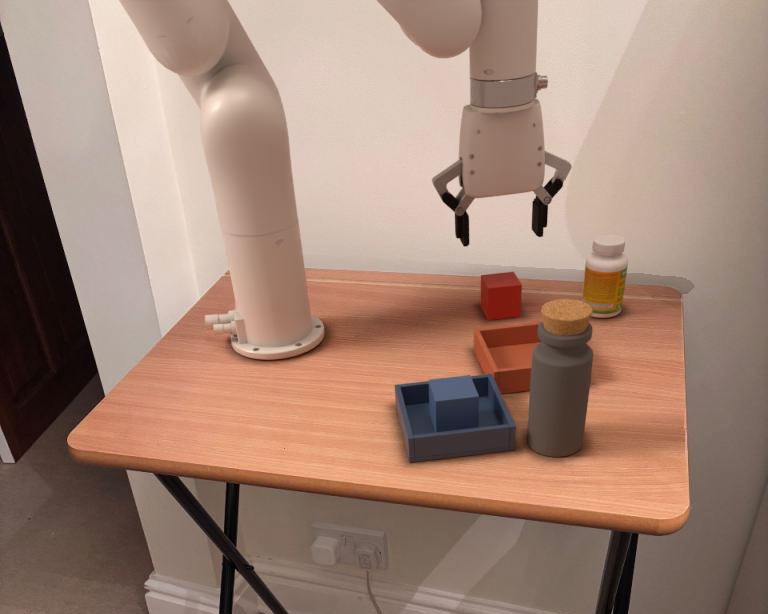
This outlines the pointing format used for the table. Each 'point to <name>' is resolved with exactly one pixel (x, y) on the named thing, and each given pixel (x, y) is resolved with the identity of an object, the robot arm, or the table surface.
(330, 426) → the table surface
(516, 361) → the orange bin
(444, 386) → the blue block
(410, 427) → the blue bin
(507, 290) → the red block
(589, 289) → the supplement bottle
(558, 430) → the bottle
